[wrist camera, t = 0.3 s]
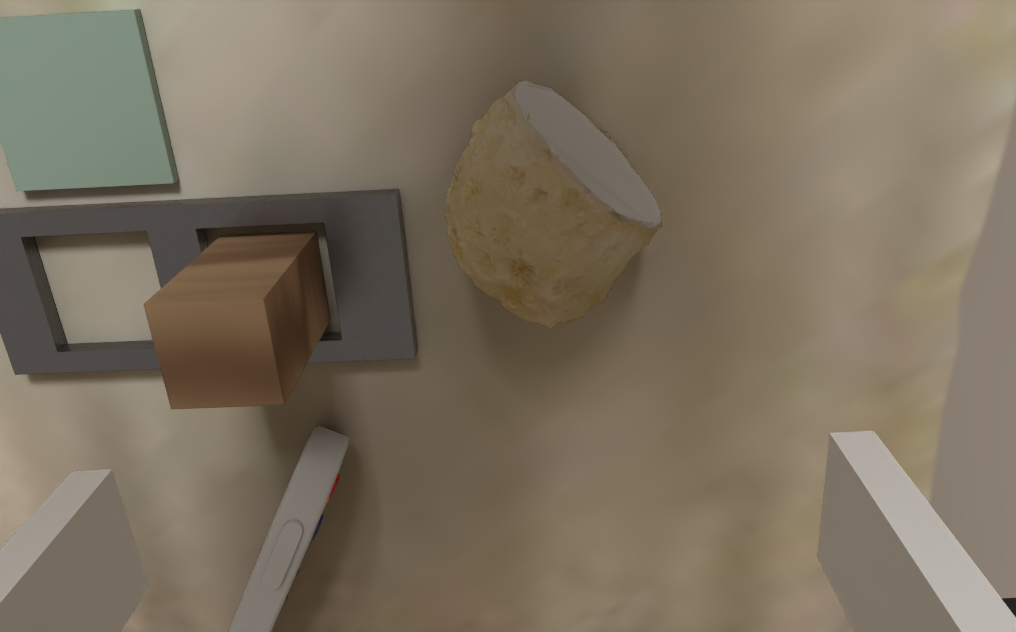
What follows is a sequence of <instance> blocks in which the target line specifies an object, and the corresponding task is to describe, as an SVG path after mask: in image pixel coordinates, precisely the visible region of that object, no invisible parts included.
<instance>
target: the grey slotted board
mask: <svg viewBox="0 0 1016 632" xmlns="http://www.w3.org/2000/svg"><path fill="white" fill-rule="evenodd" d="M303 223H324V226H325V232H326V239H327V245H328V252H329V258H330V265H331V271H332V277H333V284H334V290H335V297H336V303H337V309H338V316H339V322H340V329H341V333H323V335H322V337H321V339H320V340H319V342H318V344H317V346H316V348H315V349H314V351H313V353H312V355H311V357H310V359H309V360H308V362H307V363H316V362H341V361H366V360H391V359H415V357H416V353H417V342H416V334H415V325H414V316H413V307H412V299H411V290H410V281H409V272H408V264H407V255H406V246H405V237H404V228H403V220H402V211H401V202H400V193H399V189H389V190H369V191H348V192H328V193H308V194H288V195H268V196H247V197H227V198H207V199H187V200H167V201H146V202H126V203H106V204H86V205H66V206H45V207H25V208H5V209H0V333H1V336H2V339H3V342H4V345H5V348H6V350H7V353H8V356H9V359H10V362H11V365H12V368H13V370H14V373H15V375H19V374H44V373H69V372H93V371H118V370H143V369H161V368H160V365H159V361H158V357H157V353H156V349H155V346H154V342H153V340H151V341H128V342H104V343H80V344H67V341H66V338H65V335H64V332H63V329H62V325H61V322H60V319H59V316H58V313H57V309H56V306H55V303H54V300H53V297H52V293H51V290H50V287H49V284H48V281H47V277H46V274H45V271H44V268H43V265H42V261H41V258H40V255H39V252H38V249H37V245H36V242H35V239H34V236H53V235H74V234H95V233H115V232H136V231H147V235H148V238H149V242H150V246H151V250H152V254H153V258H154V262H155V266H156V270H157V274H158V278H159V282H160V286H161V288H162V287H164V286H165V285H166V284H167V283H168V282H169V281H170V280H171V279H173V278H174V277H175V276H176V275H177V274H178V273H179V272H180V271H182V270H183V269H184V268H185V267H186V266H187V265H188V264H189V263H191V262H192V261H193V260H194V259H195V258H196V257H197V256H198V255H200V254H201V253H202V252H203V251H204V250H205V249H206V248H207V247H208V243H207V239H206V234H205V229H204V228H220V227H241V226H262V225H282V224H303Z"/></svg>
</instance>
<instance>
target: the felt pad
mask: <svg viewBox="0 0 1016 632" xmlns="http://www.w3.org/2000/svg"><path fill="white" fill-rule="evenodd" d="M0 140H1V144H2V147H3V150H4V153H5V156H6V160H7V163H8V166H9V169H10V172H11V175H12V179H13V182H14V185H15V188H16V191H31V190H50V189H70V188H90V187H110V186H130V185H150V184H169V183H175V182H177V181H178V180H179V179H178V175H177V170H176V166H175V161H174V157H173V153H172V148H171V144H170V140H169V135H168V131H167V126H166V122H165V118H164V113H163V109H162V104H161V100H160V96H159V91H158V87H157V83H156V78H155V74H154V69H153V65H152V61H151V56H150V52H149V47H148V43H147V39H146V34H145V30H144V26H143V21H142V17H141V12H140V9H137V10H120V11H104V12H87V13H70V14H54V15H37V16H20V17H4V18H0Z"/></svg>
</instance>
